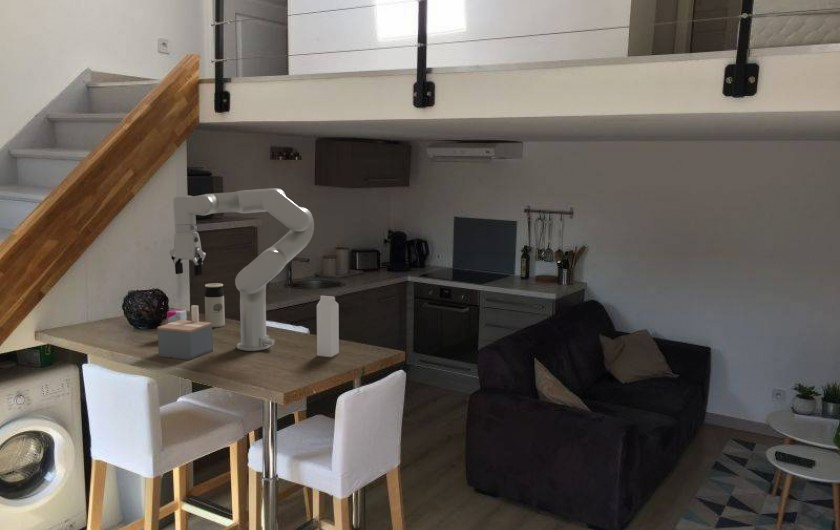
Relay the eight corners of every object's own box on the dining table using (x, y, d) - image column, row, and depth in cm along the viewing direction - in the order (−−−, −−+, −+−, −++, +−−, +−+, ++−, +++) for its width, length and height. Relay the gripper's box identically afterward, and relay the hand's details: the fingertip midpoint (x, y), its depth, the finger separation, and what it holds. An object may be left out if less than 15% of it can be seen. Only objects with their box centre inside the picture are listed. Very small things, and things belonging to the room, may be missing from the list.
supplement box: (187, 337, 283) (186, 309, 281) (181, 341, 277) (180, 312, 275) (174, 336, 283) (172, 309, 281) (167, 340, 277) (166, 312, 276)
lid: (212, 324, 261) (211, 307, 260) (190, 332, 249) (189, 313, 248) (180, 321, 265) (180, 304, 264) (157, 329, 253) (156, 310, 252)
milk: (324, 351, 263) (324, 294, 260) (339, 353, 261) (338, 295, 258) (316, 355, 258) (316, 296, 255) (331, 357, 256) (331, 297, 253)
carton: (212, 351, 262) (212, 325, 261) (191, 359, 250) (190, 332, 249) (181, 347, 267) (180, 322, 265) (158, 356, 255) (157, 329, 253)
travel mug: (204, 324, 305) (203, 283, 303) (223, 323, 308) (222, 282, 306) (206, 328, 298) (205, 286, 296) (226, 326, 301) (224, 285, 299)
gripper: (210, 228, 260) (213, 274, 262) (176, 227, 268) (179, 271, 270) (195, 230, 253) (198, 277, 256) (161, 229, 261) (164, 274, 264)
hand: (188, 274), depth 263 cm, fingers open, 9 cm apart
